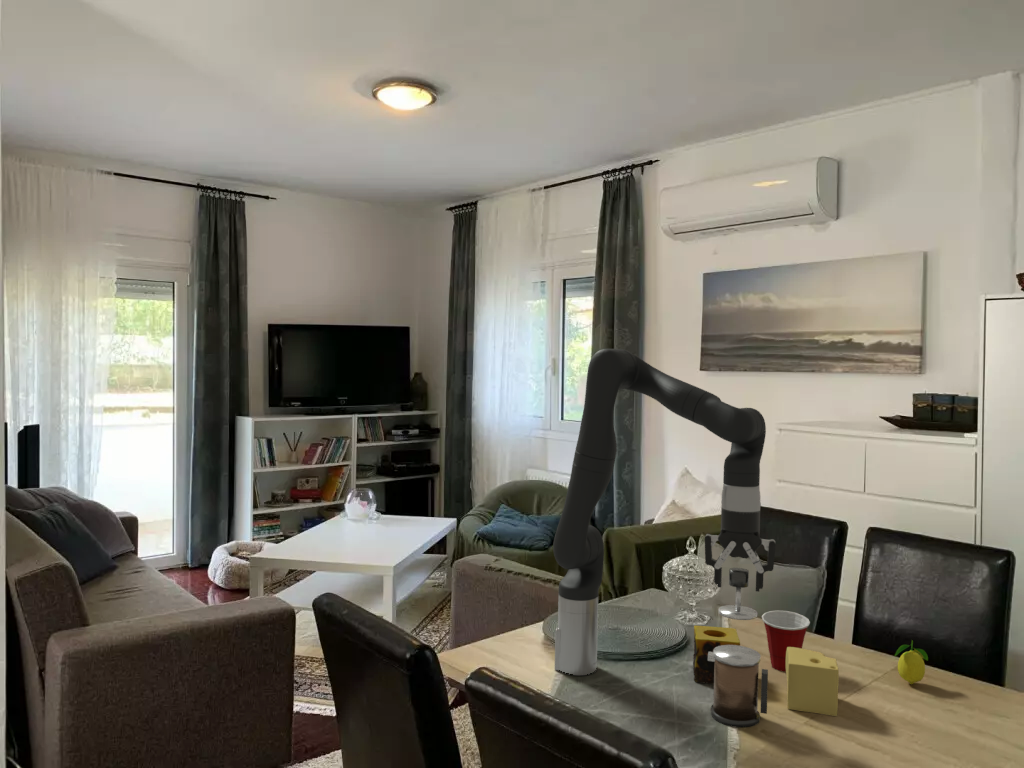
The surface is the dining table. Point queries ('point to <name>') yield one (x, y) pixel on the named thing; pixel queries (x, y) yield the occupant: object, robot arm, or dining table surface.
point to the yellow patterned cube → (709, 649)
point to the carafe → (737, 686)
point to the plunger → (738, 597)
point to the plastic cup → (783, 634)
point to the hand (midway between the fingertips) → (738, 588)
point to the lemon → (911, 664)
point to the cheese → (811, 681)
